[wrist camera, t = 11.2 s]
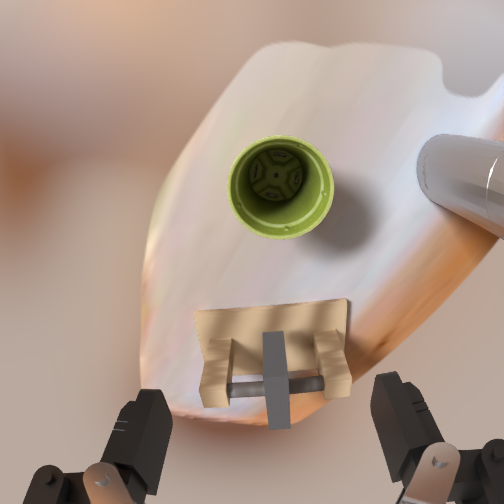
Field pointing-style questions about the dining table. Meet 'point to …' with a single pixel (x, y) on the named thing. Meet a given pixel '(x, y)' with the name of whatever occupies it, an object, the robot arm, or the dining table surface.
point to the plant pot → (280, 187)
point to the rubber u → (276, 380)
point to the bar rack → (251, 348)
